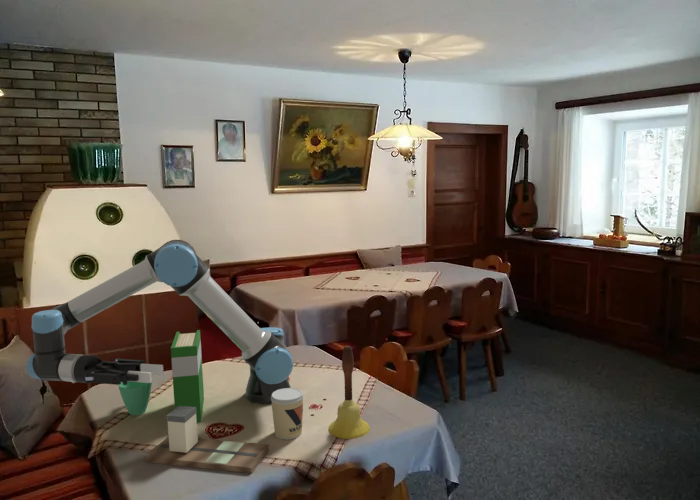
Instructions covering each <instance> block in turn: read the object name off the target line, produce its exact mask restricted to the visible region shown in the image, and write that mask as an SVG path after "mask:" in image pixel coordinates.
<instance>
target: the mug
mask: <svg viewBox="0 0 700 500" xmlns="http://www.w3.org/2000/svg"><path fill="white" fill-rule="evenodd" d="M152 382H153V381H152ZM152 382H151V383H142V382H129V381H127V385H123V382H121V384H119V385H118V390H119V393H120V396H121V399H122V402H123V404H124V406H125V409H126V410H127V412H128V414H129V415H130V416H140V415H143V414H145V413H146V411H147V407H148V406H149V405H148V404H149V401H150V397H151V391H152Z"/></svg>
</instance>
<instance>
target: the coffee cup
mask: <svg viewBox="0 0 700 500" xmlns="http://www.w3.org/2000/svg"><path fill="white" fill-rule="evenodd" d="M271 401H272V403H271V410H272V418H273V419H272V420H273V427H274V434H275V436H276V438H277V439H281V440H293V439H297V438H299V437H300V436H301V435H302V433H303V416H304V415H303V412H304V393H303V391H302V390H300V389H299V388H294V387H290V388H283V389H279V390H276V391H274V392H273V393H272V395H271Z"/></svg>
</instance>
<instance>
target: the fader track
mask: <svg viewBox="0 0 700 500" xmlns="http://www.w3.org/2000/svg"><path fill="white" fill-rule="evenodd" d="M269 451H270V444H265V443H256V442H255V443H254V442H244V441H236V440H235V441H233V440H224V439H213V438H204V437H203V438H202V437H198V442H197V443H196V444H195V445H194V446H193V447H192V448H191V449H190V450H189V451H188V452H187V453H184V452H175V451H170V449H169V435H168V436H167V437H166V438H164V439H163V440H162V441H161V442H160V443H158V444H157V445H156V446H155V447H154V448H152V449H151V451H149V452H148V453H147V454H146V455H145V456H144V462H145V463H153V464H154V463H155V464H163V465H170V466H171V465H172V466H180V467H181V466H182V467H191V468H200V469H208V470H215V471H217V470H218V471H226V472H228V471H229V472H237V473H246V474H253V472H254V471H255V470H256V468H257V467H258V466H259V464H260V463H261V462H262V461H263V459H264V458H265V456H266V455H267V454H268V452H269Z"/></svg>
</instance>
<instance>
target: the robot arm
mask: <svg viewBox="0 0 700 500" xmlns="http://www.w3.org/2000/svg"><path fill="white" fill-rule="evenodd" d="M194 248H195V247H194V246H192V244H190V243H189V242H188V241H185V240H181V239H172V240H169V241H167V242H165V243H163V245H161V246H159V248H157V249H155V250H154V251H152V252H151V253H149V254H146V255H145V258H144V260H142V261H140V262H139V263H137V264H135V265H133V266H131V267H130V268H128V269H126V270H124V271H123V272H120V273H119V274H116V275H115V276H113V277H111V278H109V279H108V280H105V281H104V282H102V283H100V284H98V285H96V286H94V287H92V288H91V289H88V290H86V291H85V292H83V293H81V294H79V295H78V296H76V297H74V298H72V299H70V300H68V301H67V302H65V303H62V304H61V305H57V306H55V307H53V308H52V309H47V310H41V311H38V312H35V313H33V314H32V316H31V330H32V336H33V337H32V339H33V348H34V353H32V354H31V355H30V356H29V357H28V359H27V364H26V365H25V370H26V373H27V374H28V376H29V377H30V378H32V379H37V380H42V381H58V382H71V383H72V384H75V383H81V384H82V383H83V384H105V385H117V386H119V384H121V382H123V385H127V381H129V382H142V383H151V382H153V379H152V376H164V373H165V372H164V364H158V363H157V364H156V363H154V364H153V363H146V360H144V359H132V358H131V359H127V358H119V357H116V358H114V361H110V360H101V359H100V357H98V356H97V355H90V354H78V353H77V354H75V353H66V344H65V343H66V342H65V335H66V334H67V332H68V331H69V330H71V329H73V328H74V327H76V326H78V325H80V324H82V323H83V322H85V321H86V320H89V319H91V318H92V317H94V316H96V315H97V314H99V313H101V312H103V311H106V310H107V309H109V308H111V307H113V306H115V305H117V304H118V303H120V302H121V301H124V300H125V299H127V298H129V297H131V296H133V295H135V294H136V293H138V292H140V291H142V290H144V289H146V288H147V287H149V286H151V285H153V284H155V283H157V282H158V283H159V282H160V283H164V284H165V285H167V286H170V288H172V289H173V290H174V291H175V292H176V294H177V295H179V296H180V297H181V296H185V297H186V296H187V297H188V298H189V299H190V300H191V301H192V302H193V303H194V304H195V305H196V306H198V308H199V309H200V310H201V311H202V312H203V313H204V314H205V315H206V316H207V317H208V318H209V319H210V320H211V321H212V322H213V323H214V324H215V325H216V326H217V327H218V328H219V329H220V330H221V331H222V332H223V333H224V334H225V335H226V336H227V337H228V338H229V339H230V340H231V341H232V342H233V343H234V345H236V346H237V348H239V349H240V350H241V358H242V360H244V361H245V363H246V364H248V365H249V377H248V381H247V384H246V388H245V398H246V399H247V400H248V401H250V402H253V403H256V404H272V401H271V395H272V393H273V392H274V391H276V390H279V389H283V388H291V385H290V382H289V379H288V378H289V376H290V375H291V374H292V371H293V367H294V361H293V359H294V358H293V356H292V353H291V352H290V351H289V349H288V348H287V346H286V345H285V342H284V340H285V339H284V337H285V334H284V331H283V329H282V328H280V327H275V326H274V327H272V326H271V327H260V326H258V325H257V324H256V322H255V321H254V320H253V319H252V318H251V317H250V316H249V315H248V314H247V313H246V312H245V311H244V310H243V309H242V307H240V306H239V305H238V304H237V303H236V301H234V299H233V298H232V297H231V296H230V295H228V293H227V292H226V291H225V290H224V289H223V288H222V287H221V286H220V284H218V283H217V282H216V281H215V280H214V278H213V277H212V276H211V274H210V270H211V269H210V267H209V266H208V265H207V264H206V262H204V261H203V260H202V258H201V257H199V255H197V252H196V250H195V249H194Z"/></svg>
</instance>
